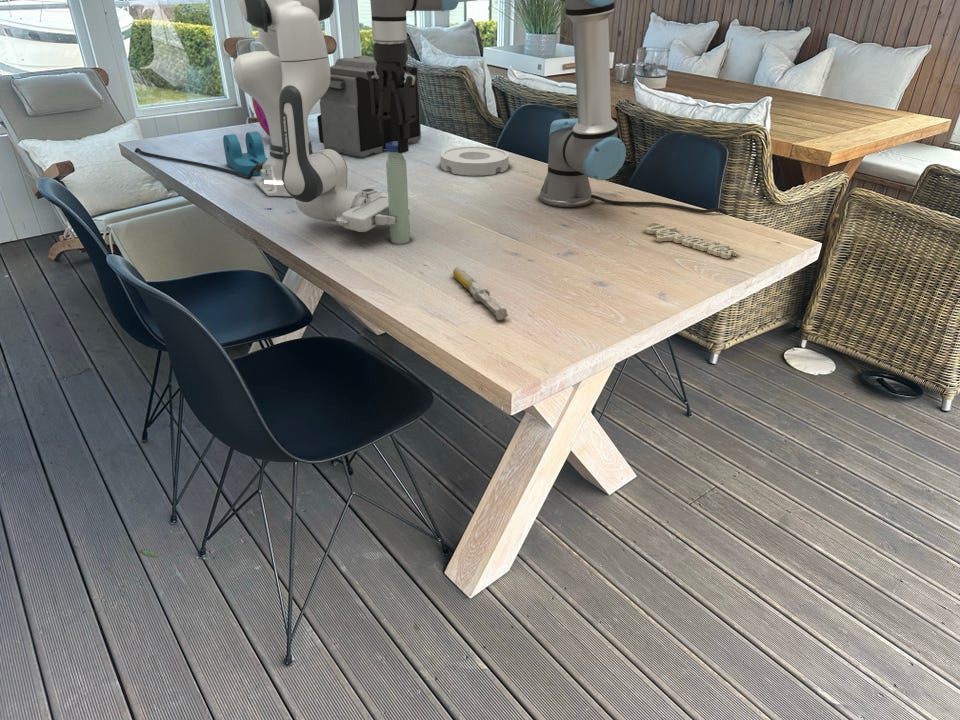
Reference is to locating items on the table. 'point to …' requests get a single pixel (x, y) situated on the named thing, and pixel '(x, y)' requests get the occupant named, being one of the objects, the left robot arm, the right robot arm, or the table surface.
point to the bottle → (398, 197)
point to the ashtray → (474, 160)
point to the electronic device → (357, 110)
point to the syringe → (479, 293)
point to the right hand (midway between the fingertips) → (395, 150)
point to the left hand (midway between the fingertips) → (402, 216)
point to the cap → (392, 146)
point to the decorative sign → (689, 240)
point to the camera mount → (244, 160)
